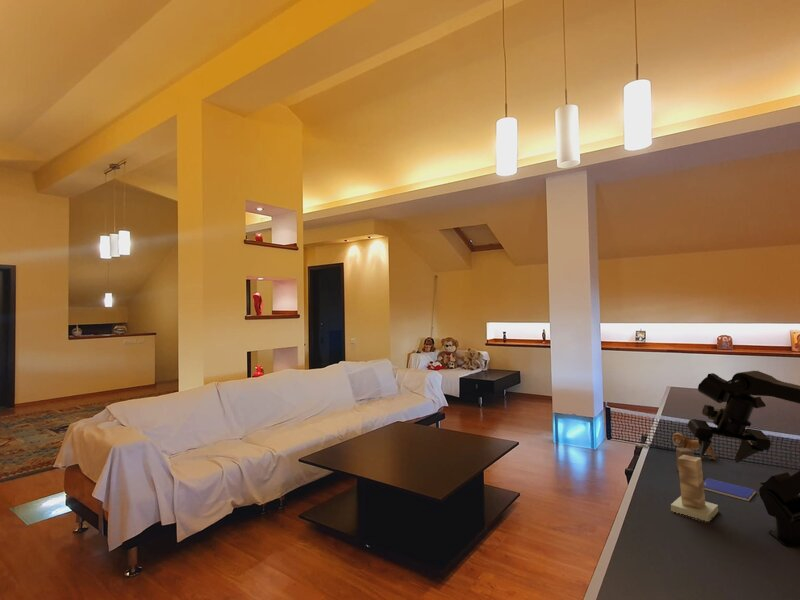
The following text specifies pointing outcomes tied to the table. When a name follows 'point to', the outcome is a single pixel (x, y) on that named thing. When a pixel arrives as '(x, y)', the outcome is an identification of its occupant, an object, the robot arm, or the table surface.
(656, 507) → the table surface
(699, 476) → the maple post
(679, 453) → the wooden block
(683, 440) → the lion figurine
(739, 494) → the hard drive
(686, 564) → the table surface
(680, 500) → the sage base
